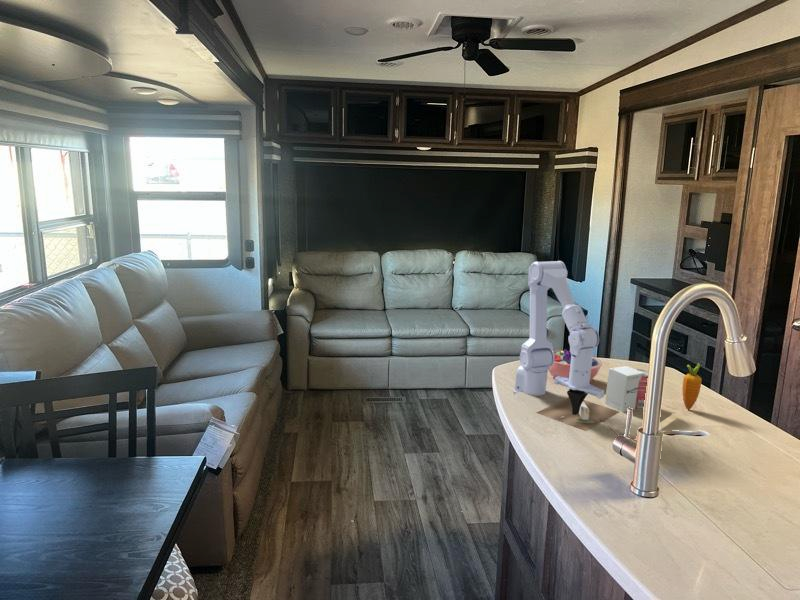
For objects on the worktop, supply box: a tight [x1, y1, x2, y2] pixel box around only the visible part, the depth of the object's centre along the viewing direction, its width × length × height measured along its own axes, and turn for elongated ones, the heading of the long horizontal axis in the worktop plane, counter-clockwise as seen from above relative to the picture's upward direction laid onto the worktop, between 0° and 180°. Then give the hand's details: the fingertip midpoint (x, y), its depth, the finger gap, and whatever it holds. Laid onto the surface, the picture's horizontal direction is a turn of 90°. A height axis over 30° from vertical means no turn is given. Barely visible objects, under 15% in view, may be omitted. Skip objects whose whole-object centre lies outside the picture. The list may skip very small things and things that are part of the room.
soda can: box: [634, 368, 649, 411], centre depth 174 cm, size 7×7×12 cm
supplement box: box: [604, 365, 644, 413], centre depth 174 cm, size 7×7×13 cm
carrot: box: [682, 363, 702, 411], centre depth 175 cm, size 5×5×15 cm
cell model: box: [548, 348, 603, 382], centre depth 197 cm, size 17×20×11 cm
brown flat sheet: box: [536, 396, 620, 432], centre depth 169 cm, size 16×20×1 cm
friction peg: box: [579, 399, 589, 420], centre depth 167 cm, size 3×11×4 cm, turn 178°
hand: (575, 413), depth 165 cm, fingers closed
